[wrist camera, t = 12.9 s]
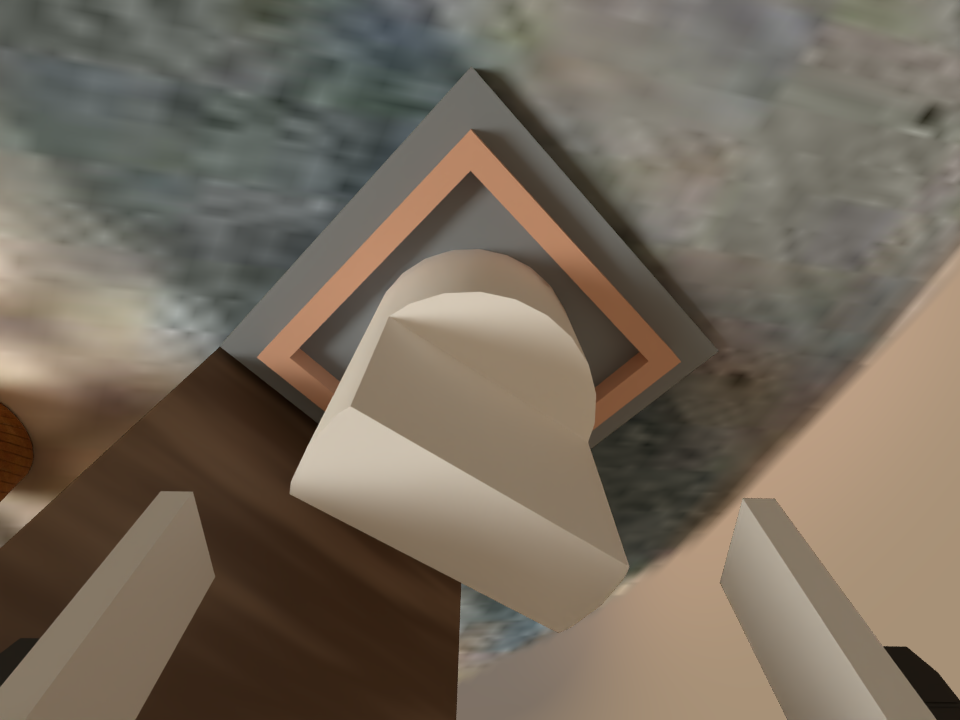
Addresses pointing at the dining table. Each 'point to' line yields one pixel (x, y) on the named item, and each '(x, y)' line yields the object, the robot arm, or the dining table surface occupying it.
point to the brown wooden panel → (249, 569)
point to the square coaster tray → (462, 226)
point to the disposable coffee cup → (13, 451)
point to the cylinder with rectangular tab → (473, 439)
